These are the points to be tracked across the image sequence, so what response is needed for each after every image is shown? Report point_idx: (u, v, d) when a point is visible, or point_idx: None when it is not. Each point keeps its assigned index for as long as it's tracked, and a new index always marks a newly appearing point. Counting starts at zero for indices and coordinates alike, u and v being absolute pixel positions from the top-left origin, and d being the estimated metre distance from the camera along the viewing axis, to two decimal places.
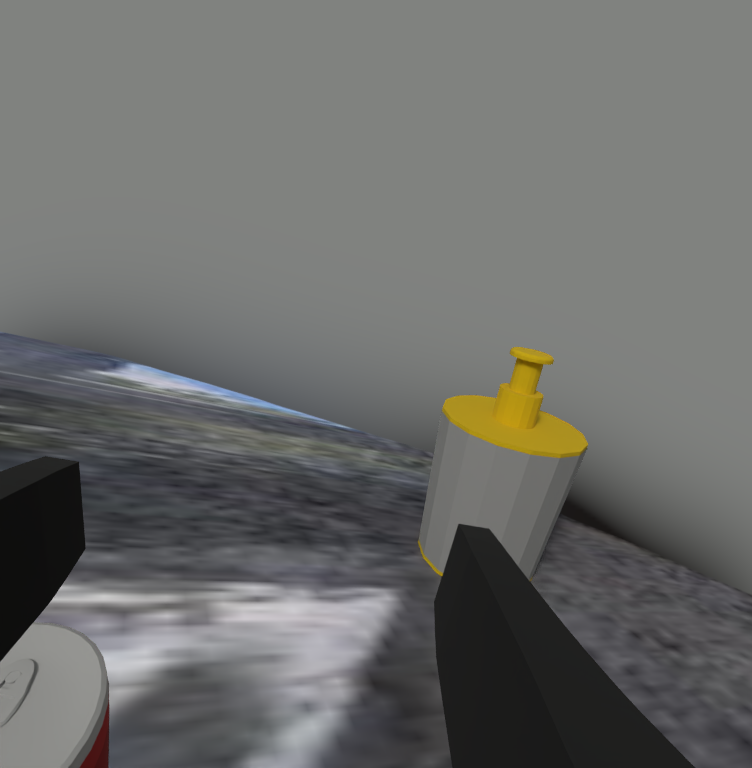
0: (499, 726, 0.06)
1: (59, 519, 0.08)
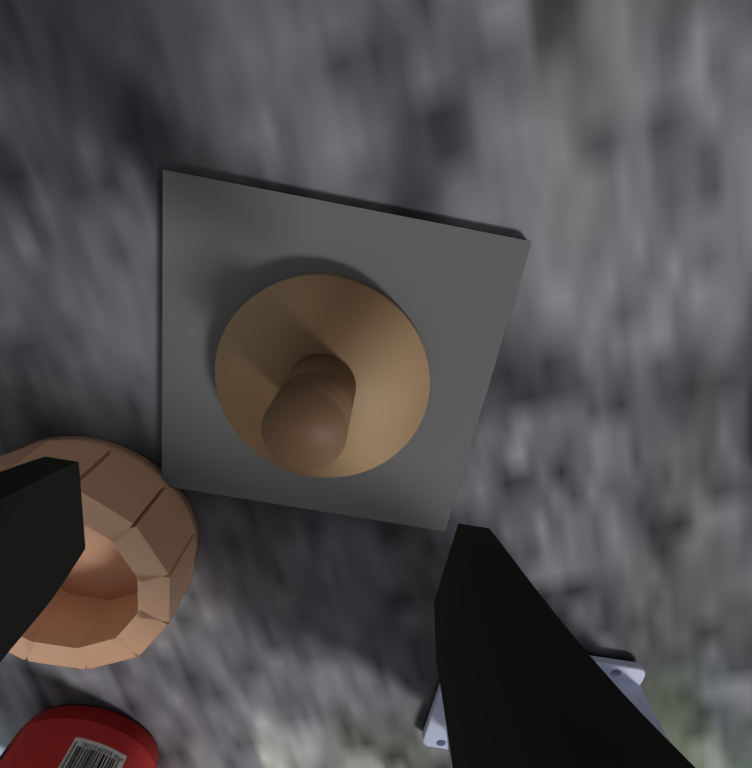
0: (499, 727, 0.06)
1: (59, 519, 0.08)
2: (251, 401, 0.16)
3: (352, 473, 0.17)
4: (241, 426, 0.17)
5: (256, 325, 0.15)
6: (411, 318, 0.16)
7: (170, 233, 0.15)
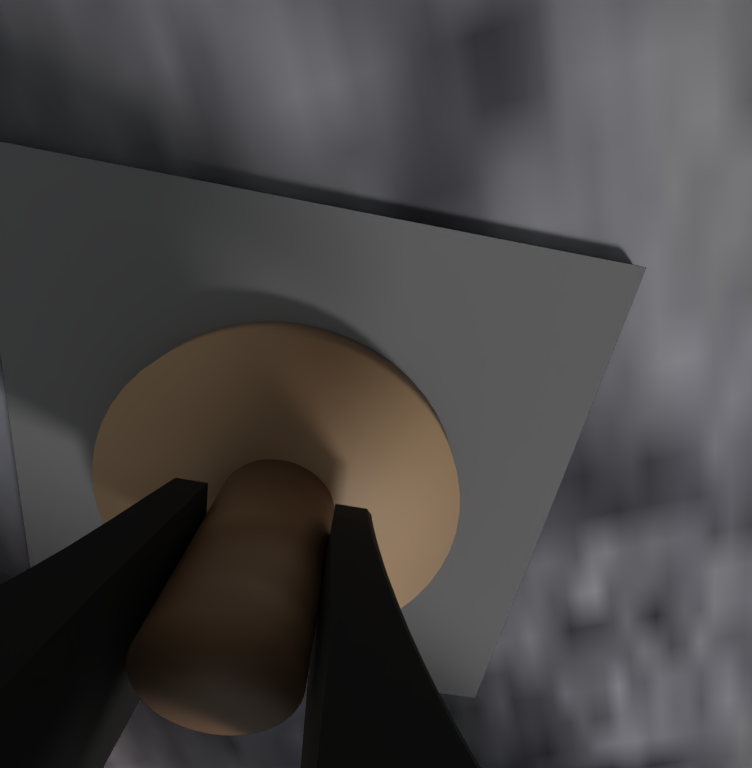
0: (317, 700, 0.06)
1: None
2: None
3: None
4: None
5: (155, 416, 0.09)
6: (428, 396, 0.09)
7: (0, 253, 0.08)
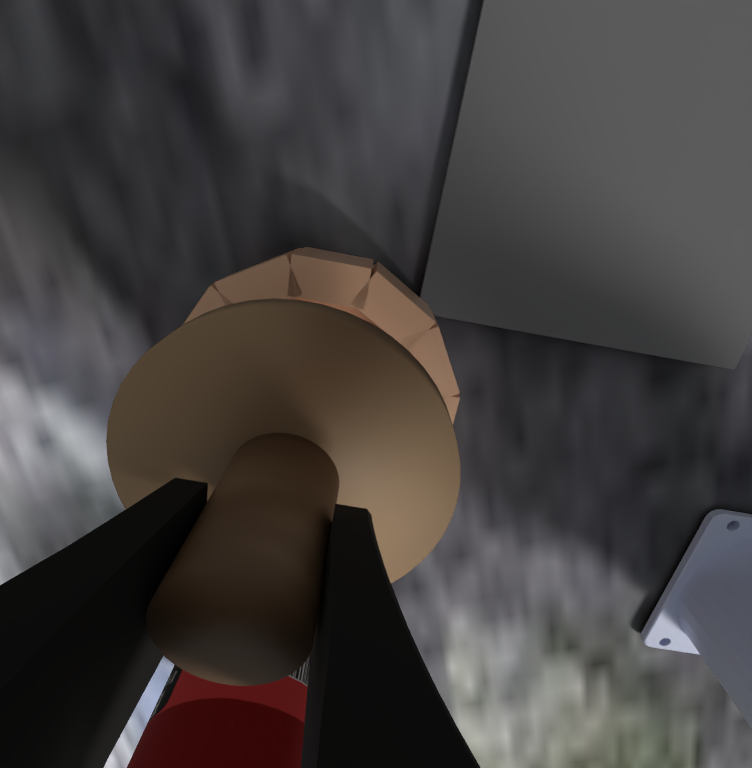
0: (317, 701, 0.06)
1: None
2: None
3: None
4: None
5: (175, 381, 0.09)
6: None
7: None
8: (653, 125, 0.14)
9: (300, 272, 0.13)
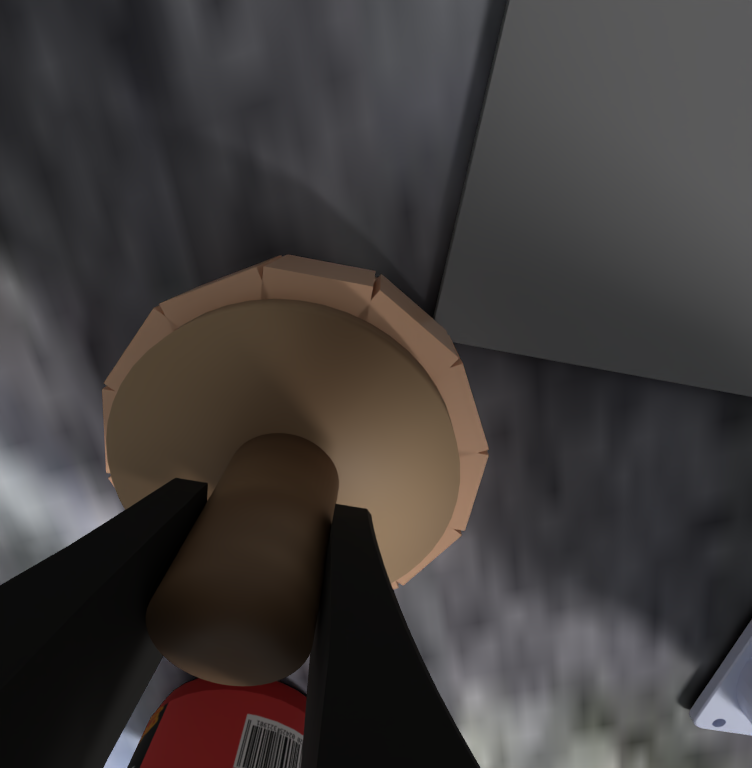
0: (317, 701, 0.06)
1: None
2: None
3: None
4: None
5: (175, 381, 0.09)
6: None
7: None
8: (748, 96, 0.10)
9: (276, 291, 0.09)
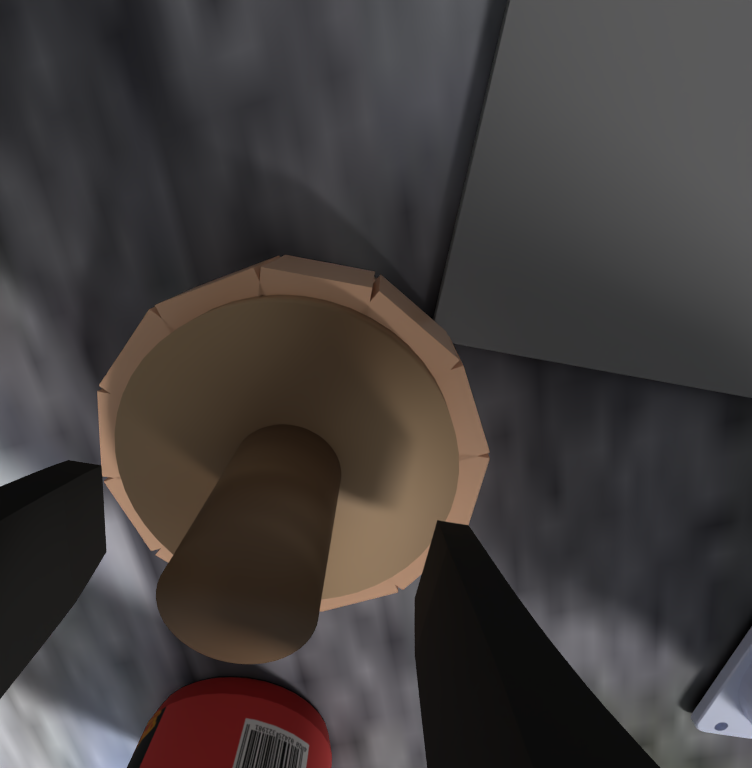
0: (467, 721, 0.06)
1: (83, 523, 0.08)
2: (173, 487, 0.10)
3: (326, 597, 0.11)
4: (157, 521, 0.11)
5: (184, 373, 0.09)
6: None
7: None
8: None
9: (273, 292, 0.09)
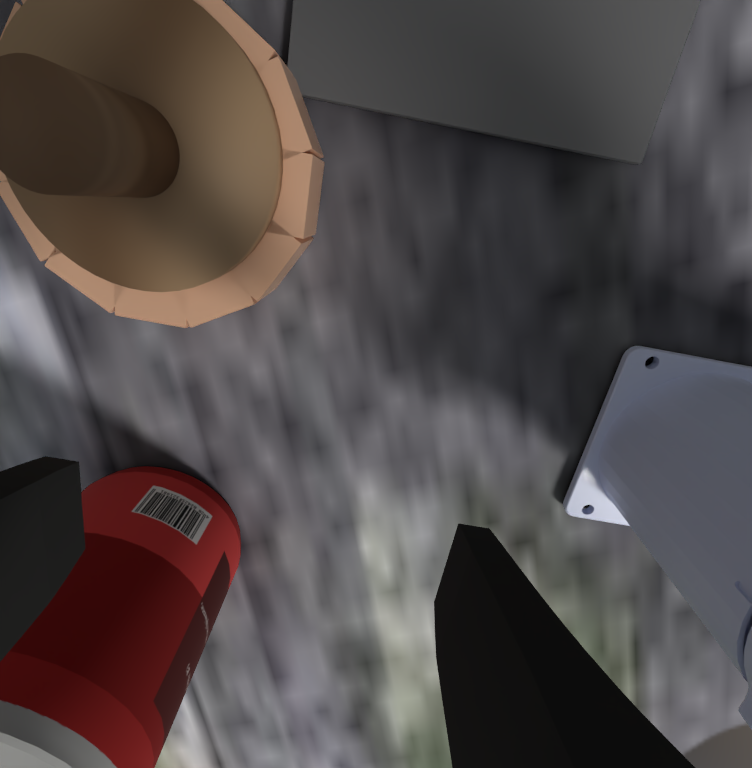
0: (499, 726, 0.06)
1: (59, 519, 0.08)
2: None
3: (182, 287, 0.13)
4: (33, 205, 0.13)
5: (39, 45, 0.11)
6: None
7: None
8: None
9: None
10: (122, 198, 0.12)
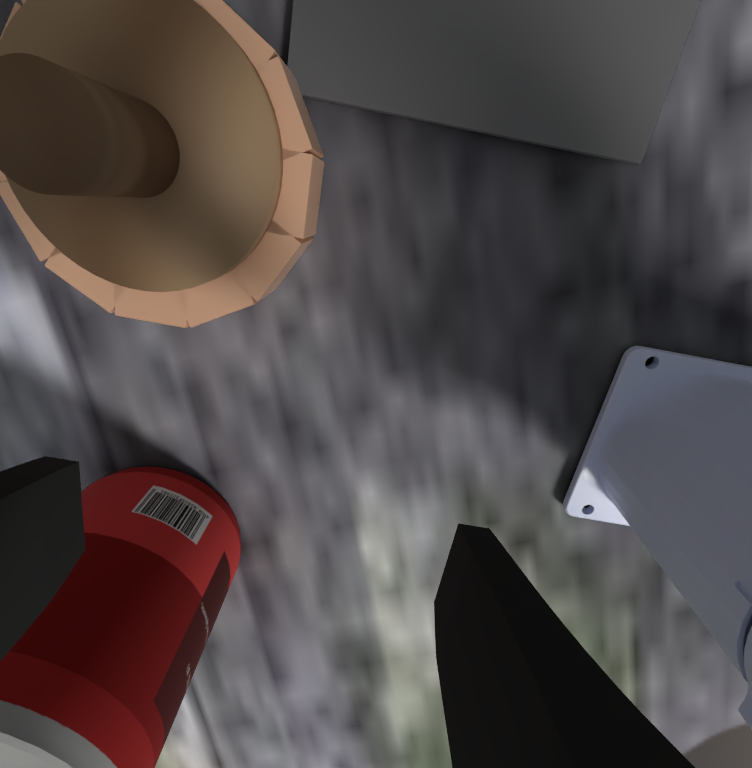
0: (499, 726, 0.06)
1: (59, 519, 0.08)
2: None
3: (182, 287, 0.13)
4: (33, 205, 0.13)
5: (39, 45, 0.11)
6: None
7: None
8: None
9: None
10: (122, 198, 0.12)
